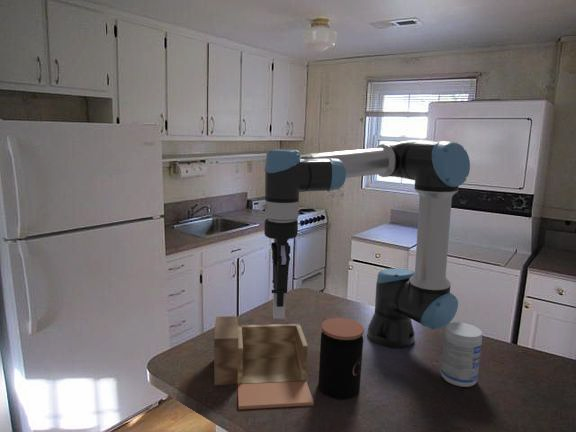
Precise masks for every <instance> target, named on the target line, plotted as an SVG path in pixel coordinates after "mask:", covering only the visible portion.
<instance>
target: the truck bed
mask: <svg viewBox="0 0 576 432" xmlns="http://www.w3.org/2000/svg"><path fill="white" fill-rule="evenodd" d="M214 323H215V324H214V337H213V338H214V339H213V341H214V342H213V346H214V347H213V355H214V358H213V360H214V361H213V362H214V366H213V367H214V368H213V371H214V373H213V374H214V376H213V379H214V380H213V381H214V383H213V384H214V386H222V385H226V386H227V385H238V384H258V383H278V382H299V381H306V382H307V369H308V368H307V367H308V351H309V350H308V347H309V346H308V343H307V340H306V337H305V334H304V331H303V329H302V327H301V324H300V323H279V324H271V323H270V324H247V325H246V324H245V325H244V324H241V325H239V323H238V316H236V315H234V316H233V315H231V316H229V315H228V316H227V315H226V316H215V322H214Z"/></svg>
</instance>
